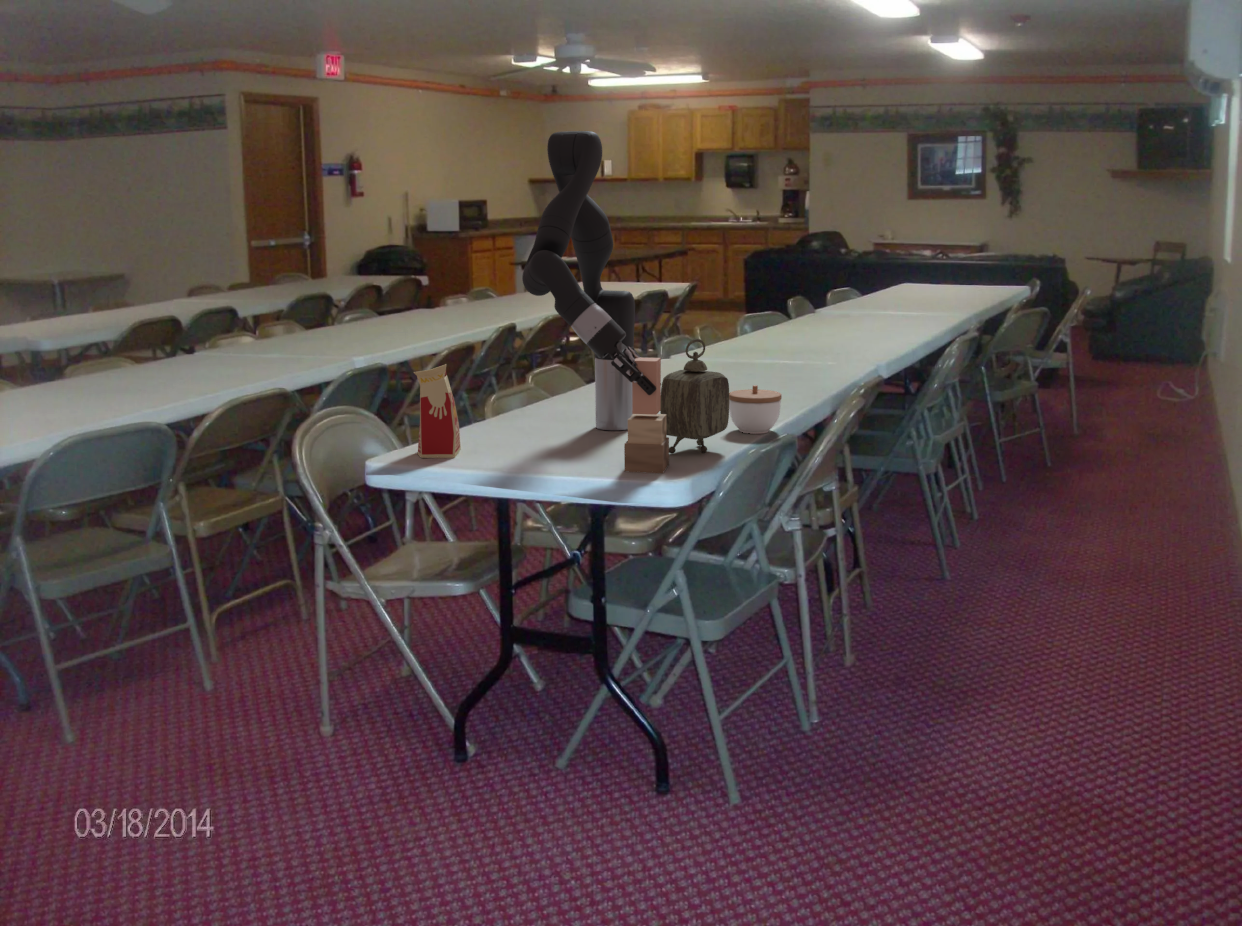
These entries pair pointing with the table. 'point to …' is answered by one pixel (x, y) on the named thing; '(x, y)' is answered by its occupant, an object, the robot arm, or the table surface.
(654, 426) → the oak block
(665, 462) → the walnut block
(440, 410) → the milk carton
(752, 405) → the lidded bowl
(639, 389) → the terracotta pillar
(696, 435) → the tabletop clock
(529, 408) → the table surface
